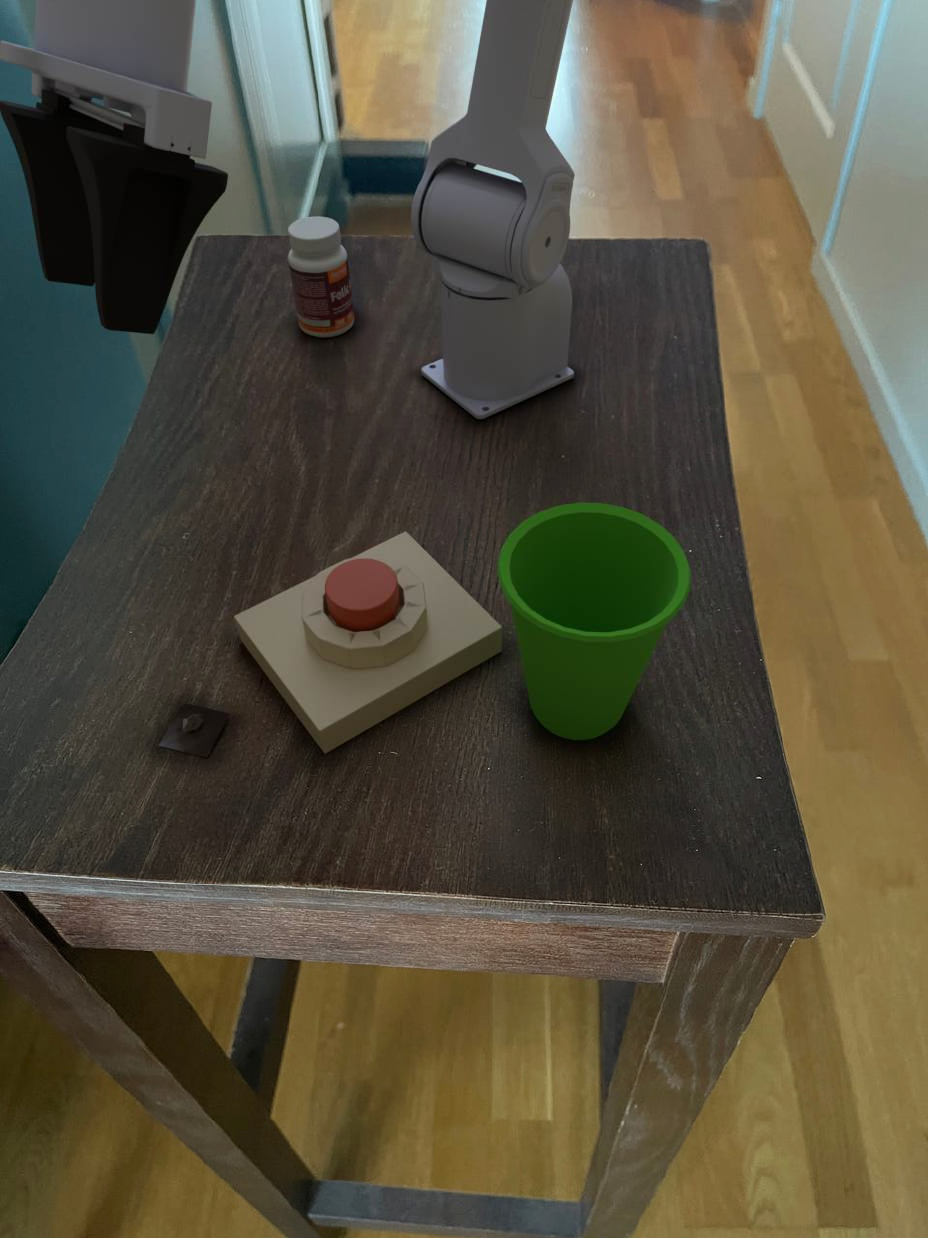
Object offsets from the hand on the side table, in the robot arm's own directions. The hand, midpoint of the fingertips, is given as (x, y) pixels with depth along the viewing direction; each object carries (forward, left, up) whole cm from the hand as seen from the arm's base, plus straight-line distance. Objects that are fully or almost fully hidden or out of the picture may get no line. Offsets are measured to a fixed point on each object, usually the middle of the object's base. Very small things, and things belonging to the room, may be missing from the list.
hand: (96, 304), depth 41 cm
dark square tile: (+4, +8, -21) cm, 23 cm away
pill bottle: (-23, -24, -21) cm, 39 cm away
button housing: (-7, +8, -21) cm, 23 cm away
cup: (-14, +19, -21) cm, 31 cm away
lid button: (-7, +8, -17) cm, 20 cm away
